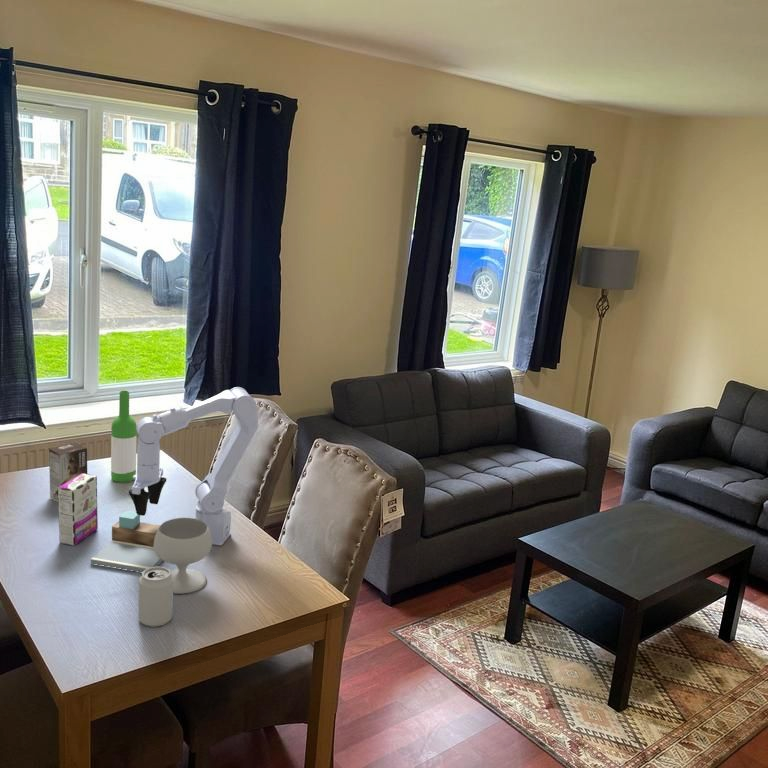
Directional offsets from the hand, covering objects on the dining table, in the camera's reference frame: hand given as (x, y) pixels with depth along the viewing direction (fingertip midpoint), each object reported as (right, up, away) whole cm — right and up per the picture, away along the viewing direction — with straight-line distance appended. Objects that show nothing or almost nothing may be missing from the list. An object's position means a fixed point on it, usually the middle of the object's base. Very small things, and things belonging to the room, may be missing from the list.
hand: (147, 509), depth 200 cm
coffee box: (-33, -1, +26) cm, 42 cm away
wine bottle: (-22, +2, +43) cm, 49 cm away
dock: (-2, -12, -7) cm, 14 cm away
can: (+12, -20, -31) cm, 39 cm away
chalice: (+13, -16, -15) cm, 26 cm away
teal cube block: (-6, -5, +2) cm, 8 cm away
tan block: (-3, -10, +3) cm, 11 cm away
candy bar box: (-20, -8, +3) cm, 22 cm away
